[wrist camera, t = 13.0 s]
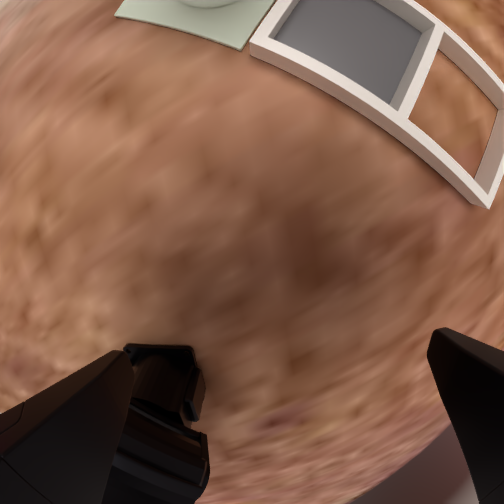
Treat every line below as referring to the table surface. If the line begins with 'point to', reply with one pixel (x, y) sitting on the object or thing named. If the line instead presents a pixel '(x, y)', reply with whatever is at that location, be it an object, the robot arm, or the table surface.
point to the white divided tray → (352, 62)
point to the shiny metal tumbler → (207, 3)
